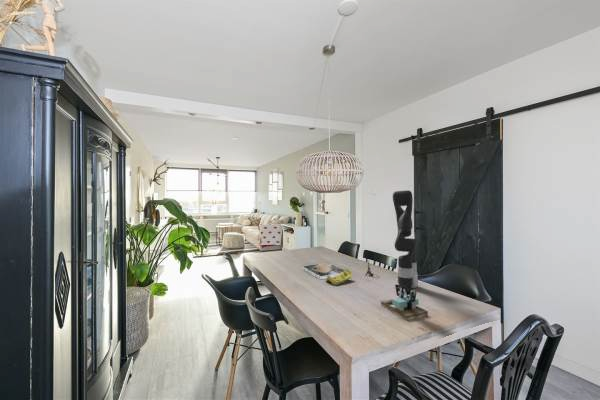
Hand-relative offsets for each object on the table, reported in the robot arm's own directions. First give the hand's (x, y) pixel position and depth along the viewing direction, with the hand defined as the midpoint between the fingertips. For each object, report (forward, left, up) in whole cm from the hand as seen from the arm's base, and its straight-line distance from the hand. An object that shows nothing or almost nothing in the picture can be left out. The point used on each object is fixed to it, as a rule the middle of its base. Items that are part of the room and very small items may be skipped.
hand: (405, 306), depth 144 cm
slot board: (0, -2, -3) cm, 3 cm away
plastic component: (+7, -60, -3) cm, 61 cm away
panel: (0, 0, -1) cm, 1 cm away
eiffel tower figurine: (-22, -64, -4) cm, 68 cm away
